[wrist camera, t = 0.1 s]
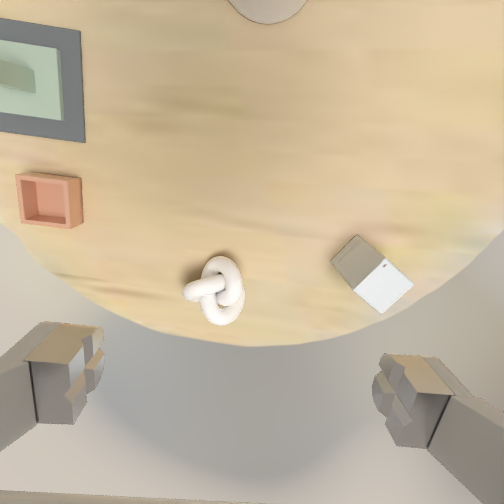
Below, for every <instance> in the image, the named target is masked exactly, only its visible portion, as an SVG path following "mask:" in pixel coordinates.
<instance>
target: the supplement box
mask: <svg viewBox="0 0 504 504" xmlns="http://www.w3.org/2000/svg"><path fill="white" fill-rule="evenodd" d="M331 263H332V264H333V265H334V267H335V268H336V269H337V270H338V272H339V273H340V274H341V276H342V277H343V278H344V279H345V281H346V282H347V283H348V285H349V286H350V287H351V288H352V290H353V291H354V292H355V293H356V294H357V295H359V296H360V297H361V298H362V299H363V300H364V301H366V302H367V303H368V304H369V305H370V306H372V307H373V308H374V309H375V310H377V311H378V312H379V313H380V314H382V313H384V312H385V311H386V310H387V309H388V308H389V307H390V306H391V305H392V304H394V303H395V302H396V301H397V300H398V299H399V298H400V297H401V296H402V295H403V294H405V293H406V292H407V291H408V290H409V289H410V288H412V287H413V286H414V283H413V282H412V281H411V280H410V279H408V278H407V277H406V276H405V275H404V274H403V273H402V272H401V271H400V270H399V269H398V268H397V267H395V266H394V265H393V264H392V263H391V262H390V261H389V260H388V259H387V258H385V257H384V256H383V255H382V254H380V253H379V252H378V251H377V250H375V249H374V248H373V247H372V246H370V245H369V244H368V243H367V242H365V241H364V240H363V239H362V238H360V237H359V236H358V235H356V236H355V237H354V238H353V239H352V240H351V241H350V242H349V243H348V244H347V245H346V246H345V247H344V248H343V249H342V250H341V251H340V252H339V253H338V254H337V255H336V256H335V257H334V258H333V259H332V260H331Z"/></svg>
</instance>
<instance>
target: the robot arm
mask: <svg viewBox="0 0 504 504" xmlns="http://www.w3.org/2000/svg"><path fill="white" fill-rule="evenodd" d="M229 1H230V3H231V4H232V5H233V6H234V8H235V9H236V10H237V11H238V12H239V13H241V14H242V15H243V16H245V17H246V18H248V19H250V20H252V21H254V22H258V23H263V24H273V23H278V22H281V21H284V20H286V19H288V18H290V17H291V16H293V15H294V14H295V13H297V12H298V11H299V10H300V9H301V8H302V6H303V5H304V4H305V3H306V1H307V0H229ZM103 341H104V336H103V330H102V329H101V328H100V327H95V326H86V325H77V324H68V323H58V322H46V321H45V322H41V323H39V324H38V325H37V326H36V327H34V328H33V329H32V330H31V331H30V332H29V333H28V334H26V335H25V336H24V337H23V338H22V339H21V340H20V341H18V342H17V343H16V344H15V345H14V346H13V347H12V348H10V349H9V350H8V351H7V352H6V353H5V354H4V355H2V356H1V357H0V451H2V450H3V449H5V448H6V447H7V446H9V445H10V444H11V443H13V442H14V441H16V440H17V439H18V438H20V437H21V436H22V435H24V434H25V433H26V432H28V431H29V430H31V429H32V428H33V427H35V426H36V425H37V423H46V424H47V423H48V424H49V423H50V424H74V423H75V421H76V420H77V418H78V416H79V415H80V413H81V411H82V410H83V408H84V406H85V405H86V403H87V396H86V394H88V393H89V392H91V391H93V390H94V389H95V388H96V386H97V384H98V383H99V381H100V378H101V375H102V372H103V369H104V353H103V352H102V351H101V349H100V348H99V347H100V345H101V344H102V342H103ZM379 366H380V368H381V370H382V371H381V372H380V373H379V374H377V375H376V376H375V377H374V381H373V384H372V396H373V399H374V403H375V405H376V407H377V409H378V411H379V412H381V413H382V414H383V415H384V416H386V417H387V419H386V423H385V425H386V427H387V429H388V431H389V432H390V434H391V436H392V438H393V440H394V442H395V444H396V446H402V447H412V448H423V449H428V450H427V451H428V452H429V453H430V454H431V455H432V456H433V457H435V459H436V460H438V461H439V462H440V463H441V464H442V465H443V466H444V467H445V468H446V469H447V470H448V471H449V472H450V473H451V474H452V475H453V476H454V477H456V479H458V480H459V481H460V482H461V483H462V484H463V485H464V486H465V487H466V488H467V489H468V490H469V491H470V492H471V493H472V494H473V495H475V497H476V498H477V499H479V500H480V501H481V502H482V503H483V504H504V411H502V410H500V409H498V408H497V407H495V406H493V405H491V404H490V403H488V402H486V401H485V400H483V399H481V398H475V397H474V396H473V395H472V394H471V393H470V391H469V390H468V389H467V388H466V387H465V386H464V385H463V384H462V383H461V382H460V381H459V380H458V379H457V378H456V377H455V376H454V374H453V373H452V372H451V371H450V370H449V369H448V368H447V367H446V366H445V365H444V364H443V363H442V361H441V360H440V359H438V358H436V357H434V356H421V355H417V356H413V355H402V354H389V353H384V355H383V356H382V357H381V359H380V362H379ZM0 504H264V503H244V502H224V501H223V502H222V501H205V500H203V501H202V500H185V499H165V498H143V497H124V496H104V495H83V494H64V493H44V492H24V491H4V490H3V491H2V490H0Z"/></svg>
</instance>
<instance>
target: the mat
mask: <svg viewBox="0 0 504 504" xmlns="http://www.w3.org/2000/svg"><path fill="white" fill-rule="evenodd" d="M0 40H5V41H11V42H18V43H24V44H30V45H37V46H43V47H49V48H56V49H58V50H60V59H61V74H62V89H63V105H64V120H65V121H61V120H54V119H47V118H40V117H32V116H25V115H18V114H11V113H4V112H0V132H8V133H15V134H23V135H30V136H37V137H45V138H52V139H59V140H67V141H74V142H82V143H86V142H85V120H84V98H83V76H82V53H81V32H80V31H78V30H71V29H65V28H59V27H53V26H47V25H41V24H34V23H28V22H22V21H16V20H10V19H4V18H0Z"/></svg>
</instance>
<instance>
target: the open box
mask: <svg viewBox="0 0 504 504" xmlns="http://www.w3.org/2000/svg"><path fill="white" fill-rule="evenodd" d="M15 177H16V185H17V193H18V202H19V210H20V218H21V223H24V224H33V225H41V226H50V227H59V228H67V229H71V228H73V227H75V226H77V225H79V224H81V223H83V202H82V183H81V178H76V177H68V176H60V175H52V174H44V173H36V172H31V173H23V174H15Z"/></svg>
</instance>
